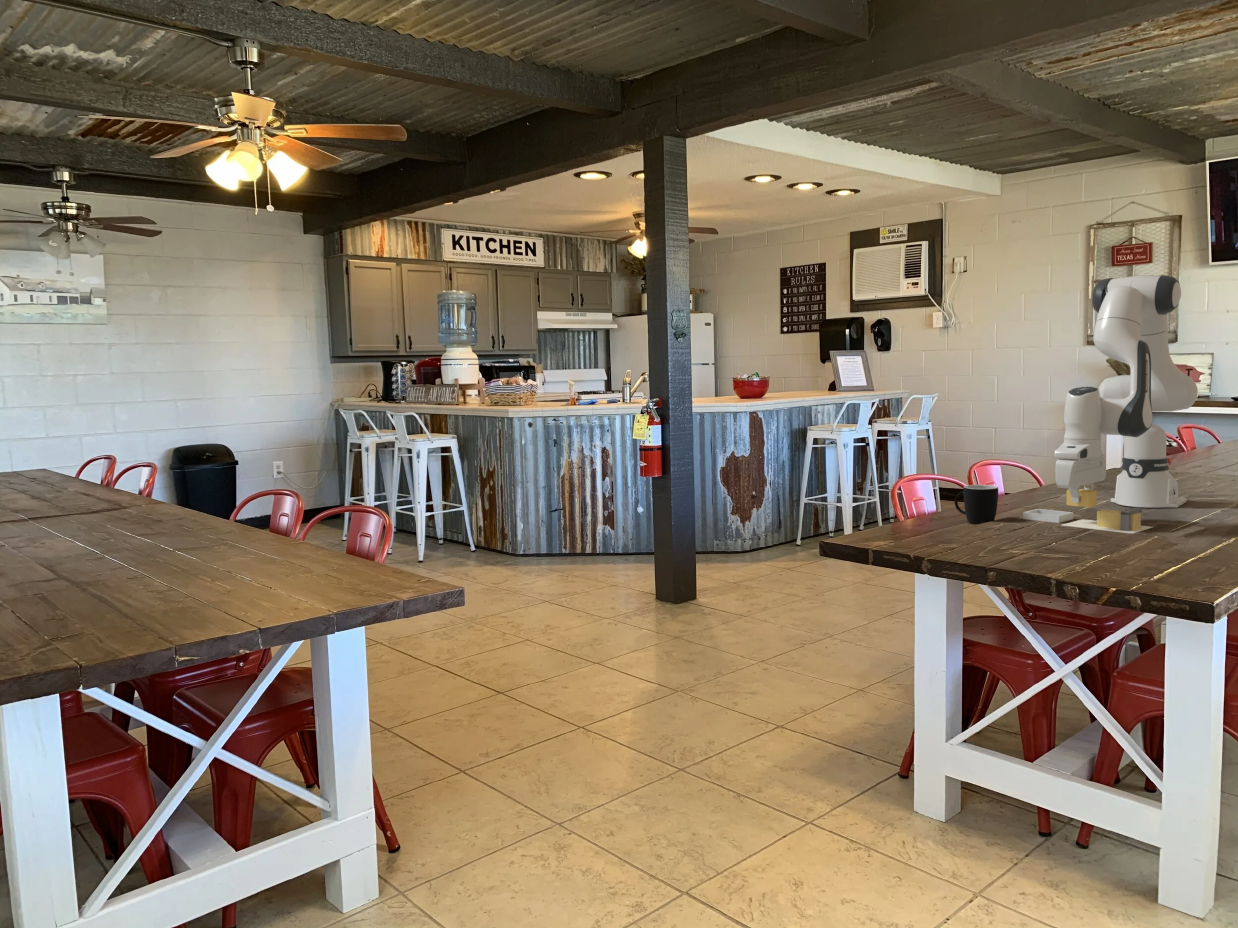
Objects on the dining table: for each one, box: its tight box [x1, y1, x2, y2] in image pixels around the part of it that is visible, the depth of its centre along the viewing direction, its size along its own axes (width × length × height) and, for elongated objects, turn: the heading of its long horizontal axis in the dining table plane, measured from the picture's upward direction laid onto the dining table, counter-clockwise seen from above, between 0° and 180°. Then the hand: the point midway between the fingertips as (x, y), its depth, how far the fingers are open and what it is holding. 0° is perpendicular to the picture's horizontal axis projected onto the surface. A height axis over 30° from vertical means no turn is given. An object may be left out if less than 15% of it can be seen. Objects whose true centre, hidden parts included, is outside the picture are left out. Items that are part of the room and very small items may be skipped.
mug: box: [954, 484, 999, 525], centre depth 256 cm, size 12×9×10 cm
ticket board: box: [1061, 506, 1154, 534], centre depth 237 cm, size 12×18×6 cm, turn 38°
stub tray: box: [1022, 508, 1074, 524], centre depth 251 cm, size 8×10×3 cm
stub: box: [1065, 488, 1098, 508], centre depth 242 cm, size 4×6×4 cm, turn 37°
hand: (1081, 501), depth 243 cm, fingers closed on stub, 4 cm apart
